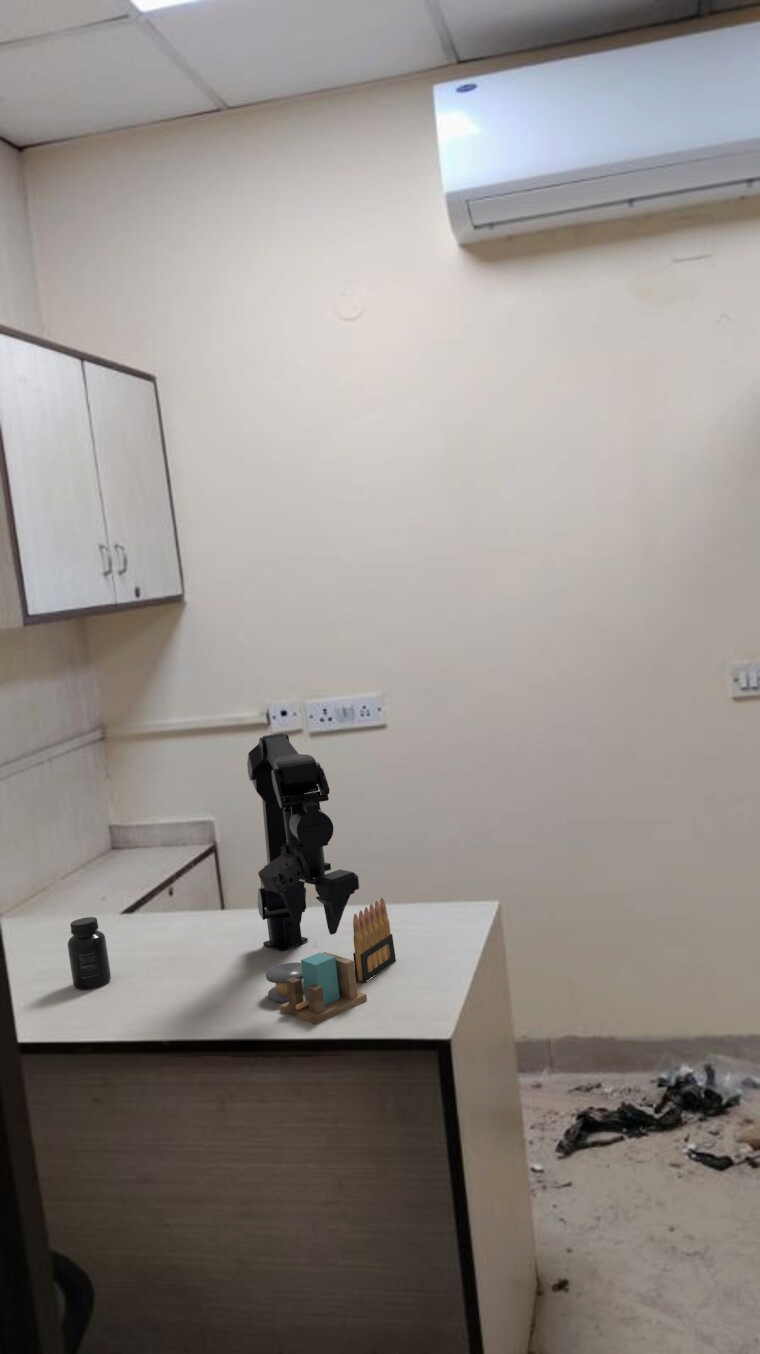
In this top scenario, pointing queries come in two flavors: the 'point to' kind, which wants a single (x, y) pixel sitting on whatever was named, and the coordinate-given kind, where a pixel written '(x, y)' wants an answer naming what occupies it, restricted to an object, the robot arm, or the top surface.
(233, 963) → the top surface
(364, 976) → the ammunition clip
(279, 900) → the robot arm
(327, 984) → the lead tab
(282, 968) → the spool
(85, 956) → the supplement bottle
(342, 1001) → the notch board
